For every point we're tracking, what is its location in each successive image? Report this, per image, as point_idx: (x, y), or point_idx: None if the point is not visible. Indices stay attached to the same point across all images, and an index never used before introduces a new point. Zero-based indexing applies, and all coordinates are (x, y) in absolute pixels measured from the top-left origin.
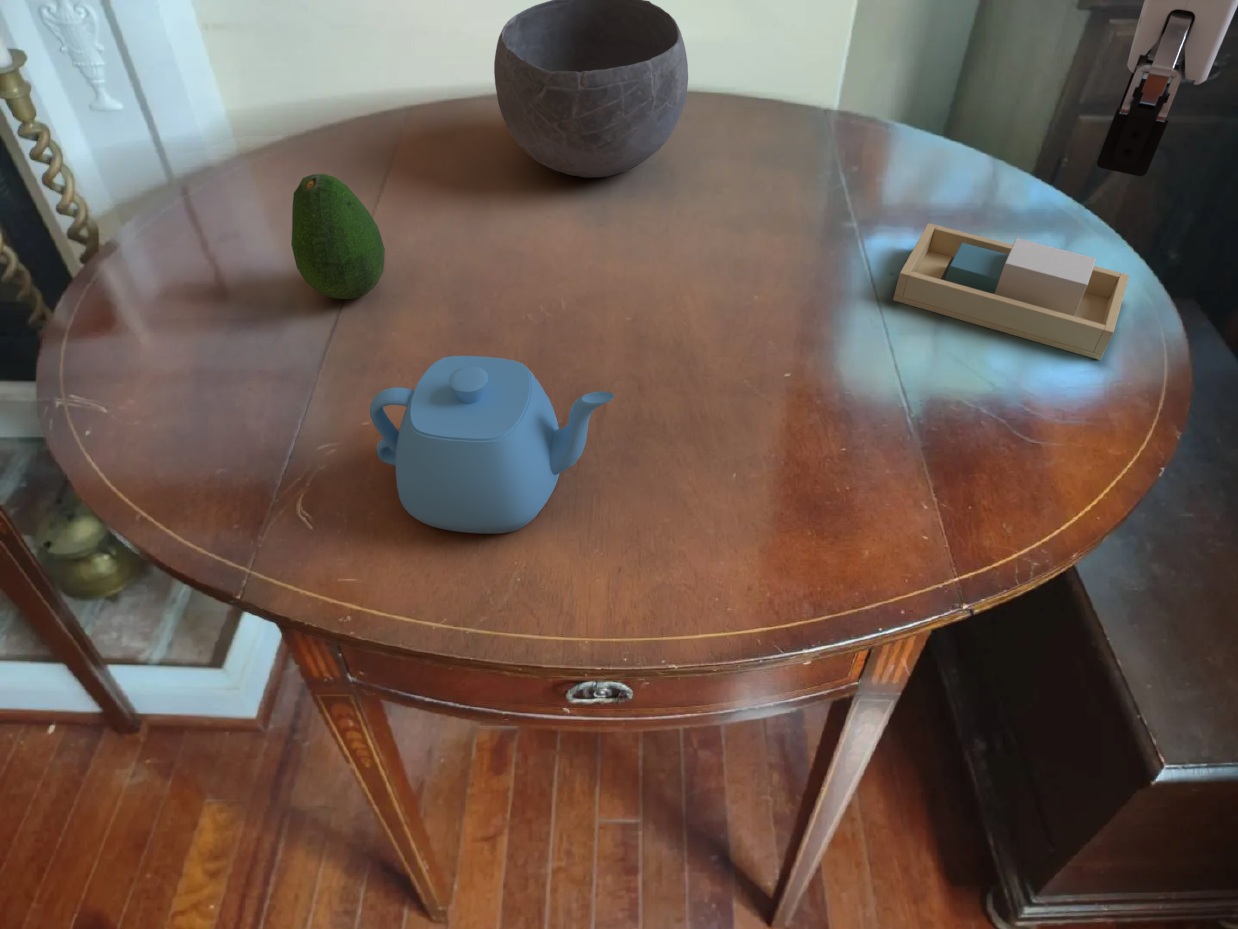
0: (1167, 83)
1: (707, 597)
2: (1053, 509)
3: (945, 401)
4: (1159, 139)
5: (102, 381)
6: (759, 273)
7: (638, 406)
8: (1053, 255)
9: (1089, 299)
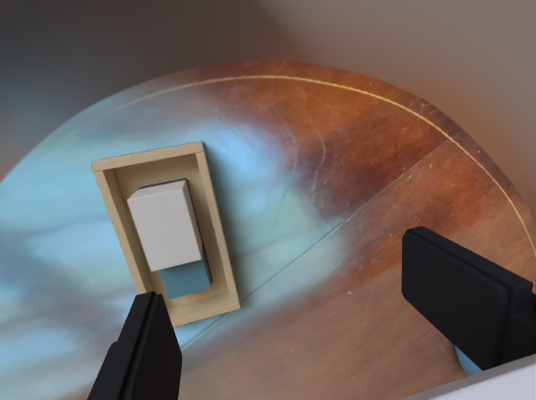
0: (148, 369)
1: (501, 227)
2: (377, 111)
3: (319, 211)
4: (484, 259)
5: None
6: (268, 364)
7: (410, 327)
8: (156, 233)
9: (127, 180)
